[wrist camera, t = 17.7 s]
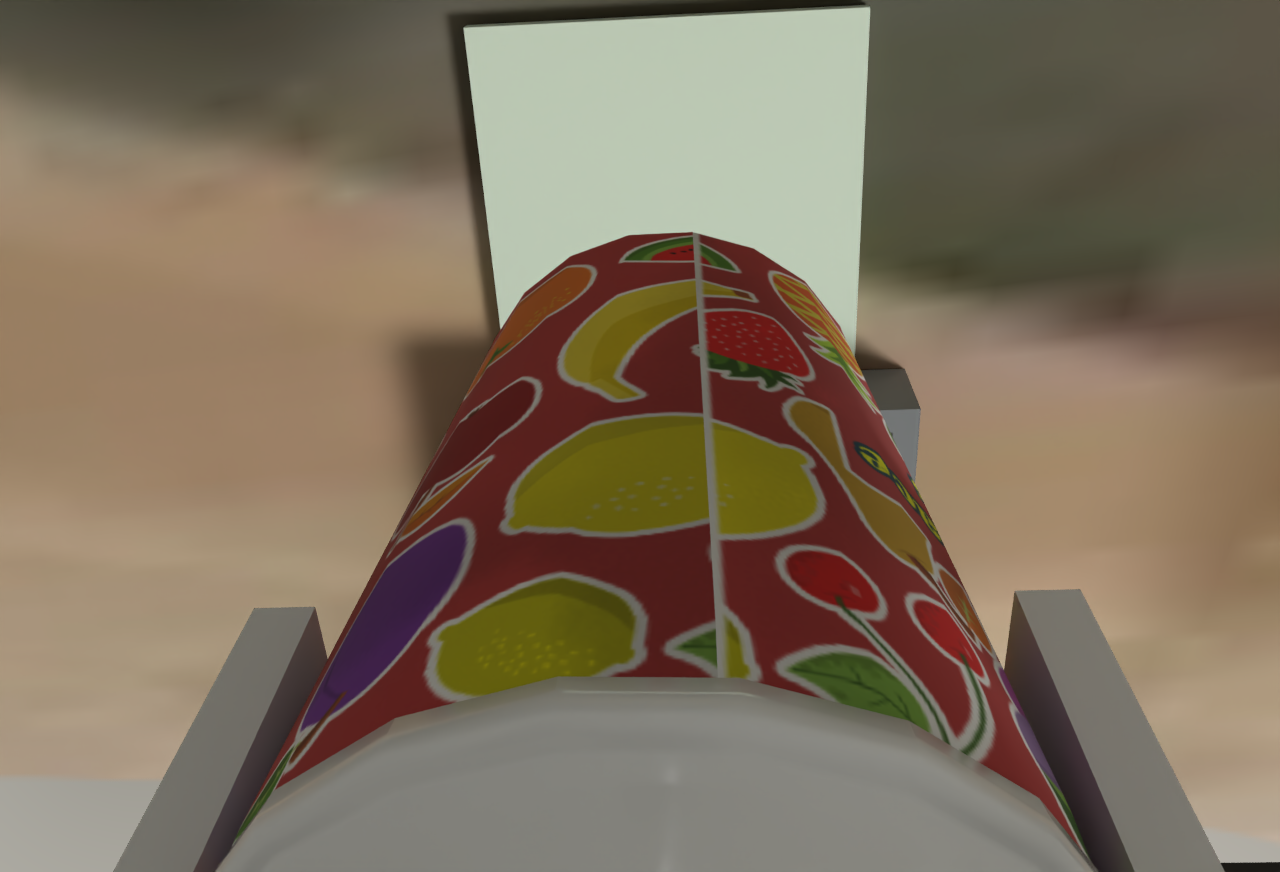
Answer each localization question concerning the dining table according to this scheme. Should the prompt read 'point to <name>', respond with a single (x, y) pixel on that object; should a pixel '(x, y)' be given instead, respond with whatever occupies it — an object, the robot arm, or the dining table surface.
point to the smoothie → (663, 617)
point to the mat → (675, 139)
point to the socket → (897, 410)
